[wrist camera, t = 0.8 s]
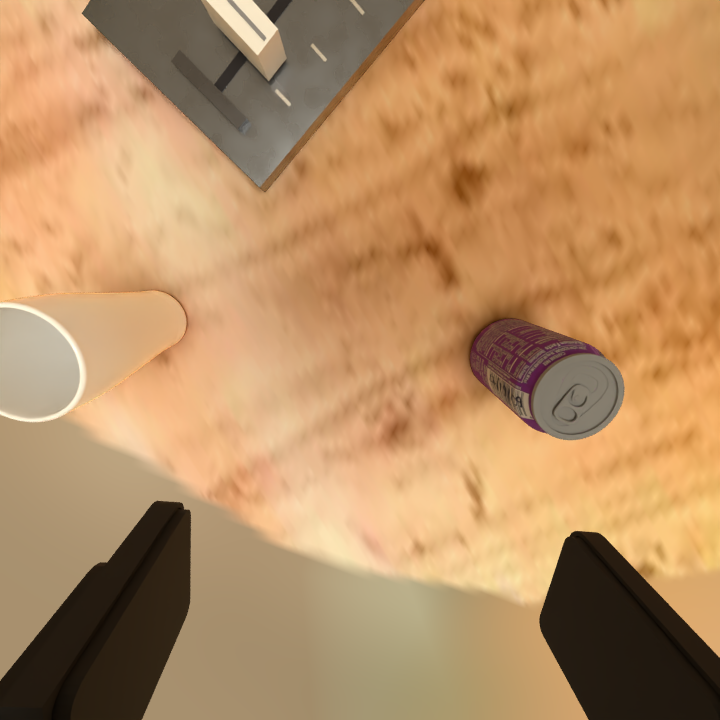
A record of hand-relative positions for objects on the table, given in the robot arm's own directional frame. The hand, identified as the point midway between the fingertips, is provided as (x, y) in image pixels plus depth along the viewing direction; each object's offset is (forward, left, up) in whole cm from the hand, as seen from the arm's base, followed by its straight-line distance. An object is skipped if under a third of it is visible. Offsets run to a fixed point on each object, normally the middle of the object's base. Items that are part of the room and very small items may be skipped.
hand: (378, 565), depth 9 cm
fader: (-11, -21, -24) cm, 34 cm away
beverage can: (-9, +12, -27) cm, 31 cm away
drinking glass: (+11, -14, -27) cm, 32 cm away
